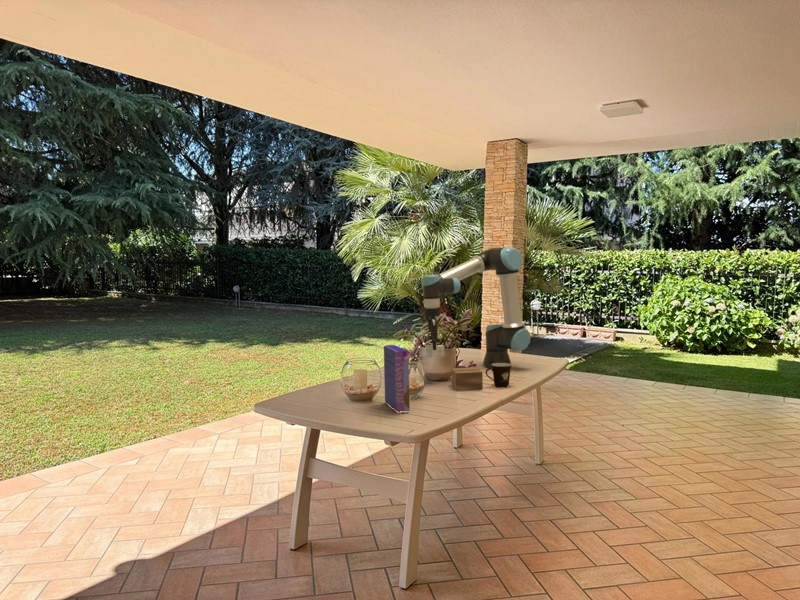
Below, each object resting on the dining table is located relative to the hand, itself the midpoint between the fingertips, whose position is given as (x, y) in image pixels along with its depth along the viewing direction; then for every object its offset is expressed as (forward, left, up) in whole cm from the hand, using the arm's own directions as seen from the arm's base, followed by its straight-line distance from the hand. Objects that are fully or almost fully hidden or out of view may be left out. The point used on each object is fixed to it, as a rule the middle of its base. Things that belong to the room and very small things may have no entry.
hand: (433, 354), depth 265 cm
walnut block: (+12, +14, -13) cm, 23 cm away
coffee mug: (+12, +28, -14) cm, 34 cm away
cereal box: (+43, -20, -14) cm, 50 cm away
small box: (0, 0, -1) cm, 1 cm away
